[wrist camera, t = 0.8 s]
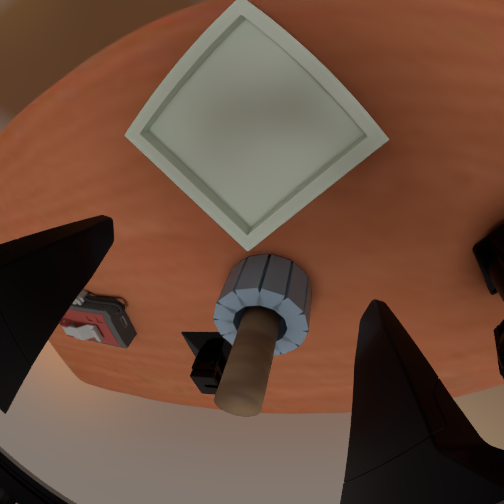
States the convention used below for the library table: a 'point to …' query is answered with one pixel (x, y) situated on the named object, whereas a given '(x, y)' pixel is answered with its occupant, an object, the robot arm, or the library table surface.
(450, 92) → the library table surface
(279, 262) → the ring
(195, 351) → the black angular piece
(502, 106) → the library table surface
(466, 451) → the robot arm
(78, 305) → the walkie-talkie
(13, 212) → the library table surface
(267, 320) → the dowel
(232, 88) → the tray
